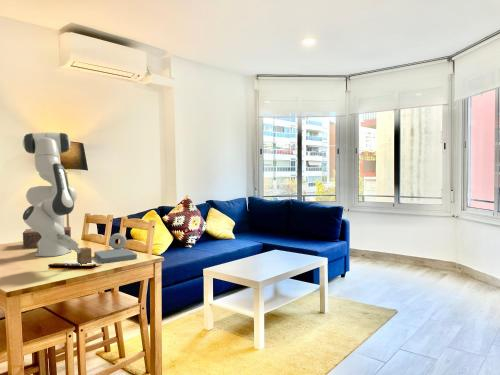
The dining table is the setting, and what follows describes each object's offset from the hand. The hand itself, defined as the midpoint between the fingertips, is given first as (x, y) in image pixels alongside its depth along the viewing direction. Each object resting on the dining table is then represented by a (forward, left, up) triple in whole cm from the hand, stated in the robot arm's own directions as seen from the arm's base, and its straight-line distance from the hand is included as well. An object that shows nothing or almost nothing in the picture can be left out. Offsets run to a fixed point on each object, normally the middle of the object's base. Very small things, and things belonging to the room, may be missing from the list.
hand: (75, 250), depth 190 cm
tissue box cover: (-69, -4, -9) cm, 70 cm away
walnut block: (-1, +4, -9) cm, 10 cm away
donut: (-31, +29, -9) cm, 44 cm away
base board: (-11, +22, -9) cm, 26 cm away
